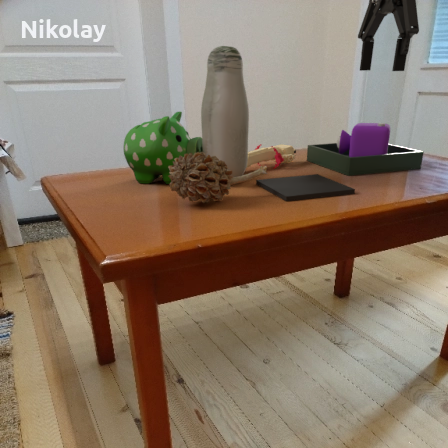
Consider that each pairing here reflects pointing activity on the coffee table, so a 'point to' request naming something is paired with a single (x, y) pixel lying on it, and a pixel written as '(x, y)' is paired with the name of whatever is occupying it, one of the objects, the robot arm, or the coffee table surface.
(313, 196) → the mat
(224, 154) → the grey bottle
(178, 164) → the pine cone
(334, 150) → the bin
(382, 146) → the toy camera
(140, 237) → the coffee table surface
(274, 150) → the beige long piece
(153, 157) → the piggy bank
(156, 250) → the coffee table surface
